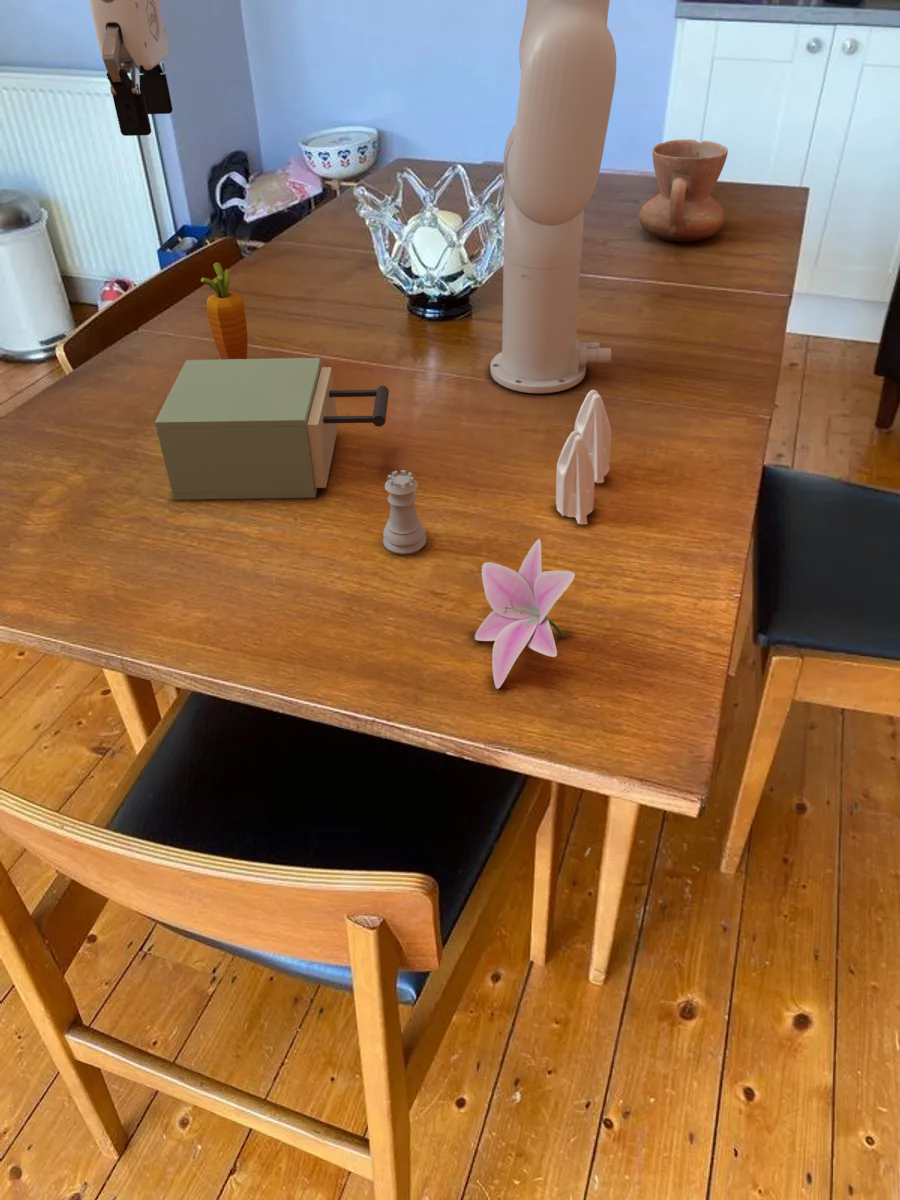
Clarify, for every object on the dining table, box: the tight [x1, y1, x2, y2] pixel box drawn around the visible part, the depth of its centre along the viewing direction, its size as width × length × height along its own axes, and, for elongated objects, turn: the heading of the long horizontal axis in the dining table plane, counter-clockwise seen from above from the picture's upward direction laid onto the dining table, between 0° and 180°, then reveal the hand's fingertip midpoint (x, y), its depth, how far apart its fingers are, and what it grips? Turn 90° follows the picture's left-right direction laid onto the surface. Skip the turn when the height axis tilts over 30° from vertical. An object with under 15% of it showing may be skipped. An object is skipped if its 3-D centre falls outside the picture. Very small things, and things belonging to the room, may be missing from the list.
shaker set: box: [555, 389, 612, 526], centre depth 99 cm, size 12×4×11 cm, turn 159°
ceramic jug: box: [638, 138, 729, 243], centre depth 159 cm, size 18×14×14 cm
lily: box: [474, 538, 576, 690], centre depth 81 cm, size 12×12×10 cm
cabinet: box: [154, 357, 323, 501], centre depth 105 cm, size 16×15×10 cm
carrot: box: [200, 262, 249, 359], centre depth 120 cm, size 5×5×15 cm
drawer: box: [307, 366, 390, 489], centre depth 105 cm, size 21×13×8 cm, turn 90°
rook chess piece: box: [382, 469, 427, 556], centre depth 93 cm, size 4×4×8 cm
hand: (148, 123), depth 105 cm, fingers open, 9 cm apart
